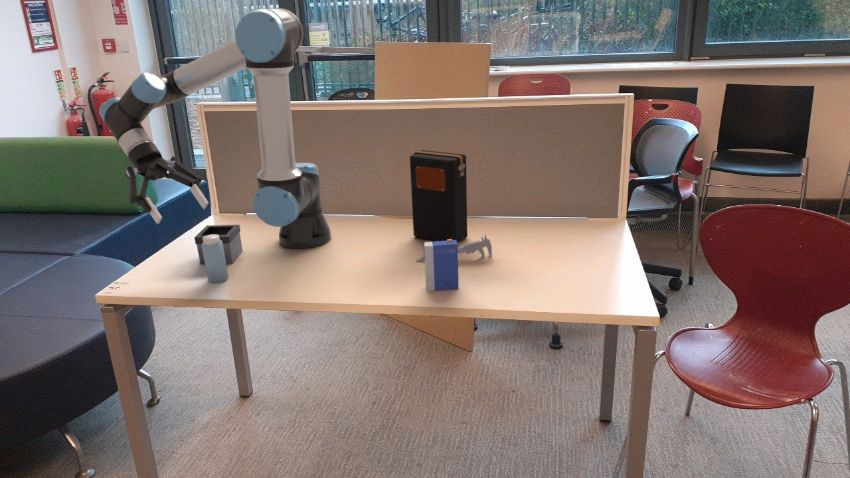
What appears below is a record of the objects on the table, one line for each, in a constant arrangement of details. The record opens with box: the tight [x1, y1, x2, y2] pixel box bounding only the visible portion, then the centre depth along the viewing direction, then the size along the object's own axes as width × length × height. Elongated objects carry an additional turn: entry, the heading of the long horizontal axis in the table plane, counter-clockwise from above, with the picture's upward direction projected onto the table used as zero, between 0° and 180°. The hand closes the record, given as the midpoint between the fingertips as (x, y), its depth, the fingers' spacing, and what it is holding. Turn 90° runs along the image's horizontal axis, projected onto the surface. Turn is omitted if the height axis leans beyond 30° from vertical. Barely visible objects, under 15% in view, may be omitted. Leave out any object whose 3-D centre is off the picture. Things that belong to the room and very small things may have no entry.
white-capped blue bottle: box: [202, 234, 229, 284], centre depth 161 cm, size 5×5×12 cm
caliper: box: [415, 235, 493, 263], centre depth 169 cm, size 20×1×6 cm, turn 94°
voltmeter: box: [409, 149, 468, 243], centre depth 180 cm, size 16×9×25 cm, turn 58°
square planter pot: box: [193, 224, 243, 265], centre depth 175 cm, size 9×9×8 cm
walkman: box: [423, 239, 459, 292], centre depth 151 cm, size 8×3×12 cm, turn 95°
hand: (183, 213), depth 163 cm, fingers open, 13 cm apart
